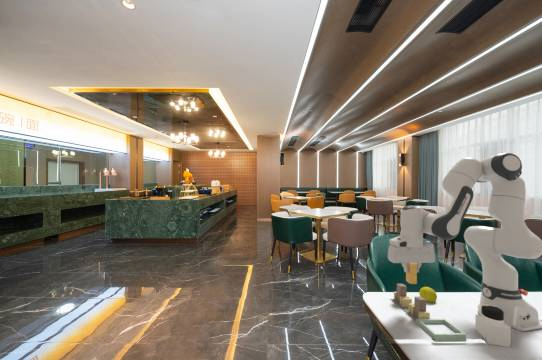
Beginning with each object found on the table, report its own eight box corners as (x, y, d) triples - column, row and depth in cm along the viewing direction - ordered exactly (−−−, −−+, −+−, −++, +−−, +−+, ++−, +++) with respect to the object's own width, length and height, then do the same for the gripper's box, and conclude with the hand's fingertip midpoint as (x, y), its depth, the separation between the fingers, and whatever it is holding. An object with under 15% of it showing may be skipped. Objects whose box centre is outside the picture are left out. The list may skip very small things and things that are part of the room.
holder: (389, 301, 115) (390, 282, 115) (405, 301, 115) (405, 282, 115) (415, 324, 96) (415, 301, 96) (434, 324, 96) (434, 301, 96)
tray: (444, 325, 96) (444, 318, 96) (466, 341, 86) (466, 334, 86) (416, 325, 95) (416, 318, 95) (434, 341, 85) (434, 334, 85)
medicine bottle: (511, 347, 83) (511, 313, 83) (487, 344, 84) (488, 311, 85) (496, 335, 90) (496, 303, 90) (474, 332, 91) (475, 301, 92)
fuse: (412, 280, 107) (412, 259, 107) (416, 283, 104) (416, 261, 104) (405, 280, 107) (405, 259, 107) (410, 283, 104) (410, 261, 104)
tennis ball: (416, 298, 118) (416, 284, 118) (428, 298, 119) (428, 284, 119) (427, 306, 111) (427, 291, 111) (440, 305, 112) (440, 290, 112)
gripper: (428, 239, 109) (428, 269, 109) (385, 239, 108) (385, 269, 108) (438, 243, 103) (438, 274, 103) (393, 243, 102) (393, 275, 102)
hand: (411, 272), depth 106 cm, fingers closed on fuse, 3 cm apart
